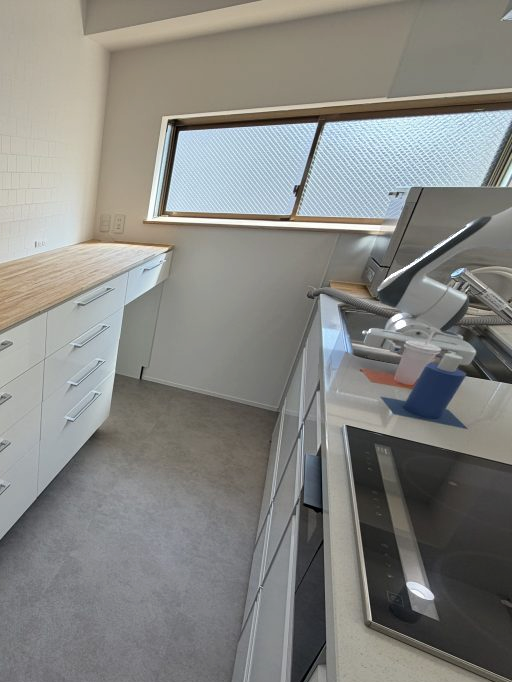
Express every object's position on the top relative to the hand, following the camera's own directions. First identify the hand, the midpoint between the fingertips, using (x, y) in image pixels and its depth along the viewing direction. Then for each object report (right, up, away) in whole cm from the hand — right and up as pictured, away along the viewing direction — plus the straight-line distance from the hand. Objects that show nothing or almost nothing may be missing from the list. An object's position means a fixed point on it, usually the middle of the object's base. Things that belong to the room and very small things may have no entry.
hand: (420, 354), depth 98 cm
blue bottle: (-10, -13, -10) cm, 19 cm away
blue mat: (-10, -13, -9) cm, 19 cm away
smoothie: (0, -7, +4) cm, 8 cm away
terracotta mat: (-1, -7, +5) cm, 8 cm away
